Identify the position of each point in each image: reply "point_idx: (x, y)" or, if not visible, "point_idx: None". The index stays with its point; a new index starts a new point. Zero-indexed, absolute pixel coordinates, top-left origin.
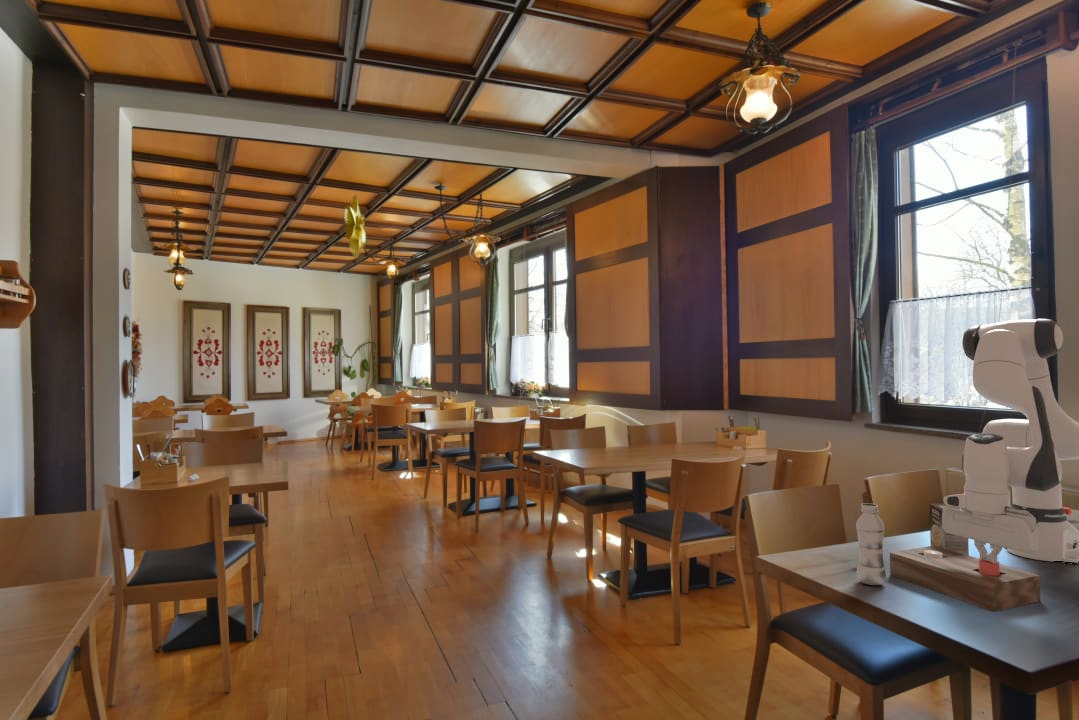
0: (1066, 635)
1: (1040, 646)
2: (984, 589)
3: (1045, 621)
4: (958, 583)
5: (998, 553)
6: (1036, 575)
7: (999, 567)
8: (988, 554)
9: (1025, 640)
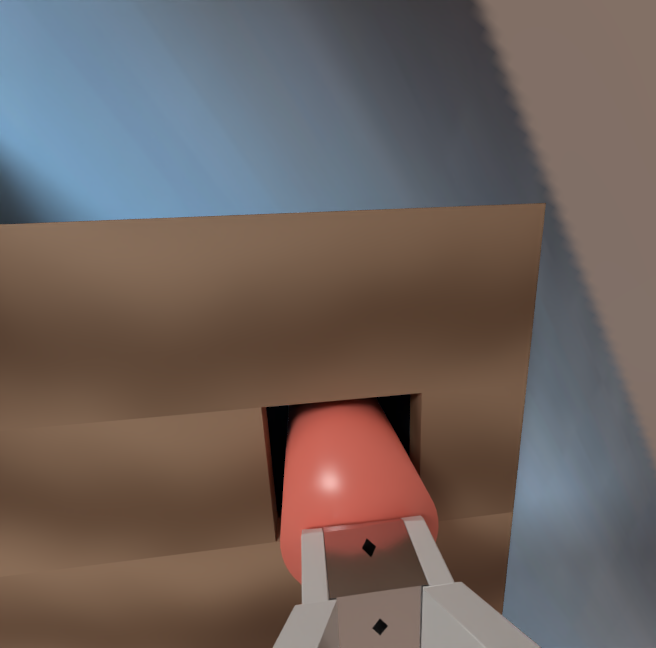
0: (645, 465)
1: (634, 588)
2: None
3: (563, 420)
4: None
5: (489, 614)
6: (535, 231)
7: (417, 473)
8: (396, 641)
9: (598, 592)
